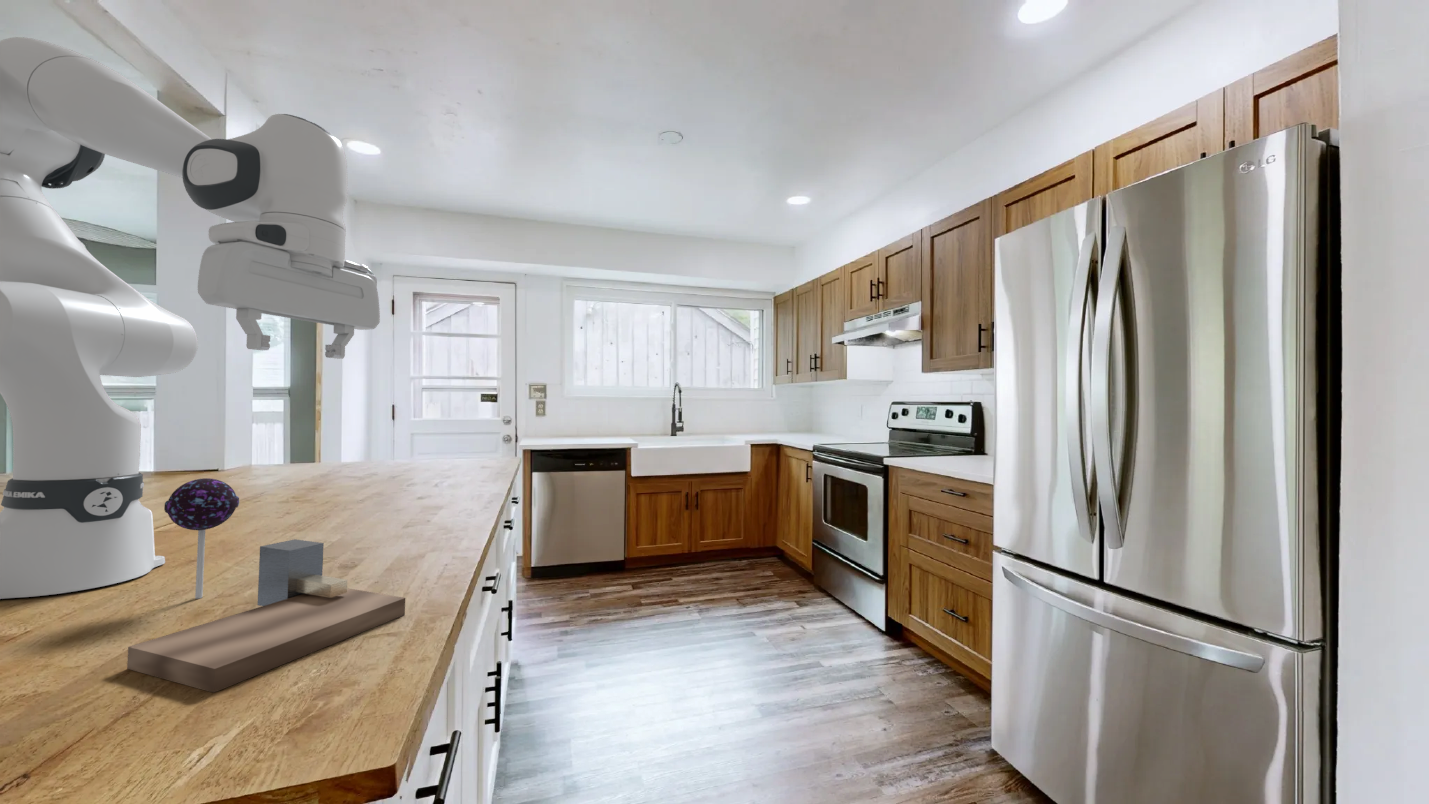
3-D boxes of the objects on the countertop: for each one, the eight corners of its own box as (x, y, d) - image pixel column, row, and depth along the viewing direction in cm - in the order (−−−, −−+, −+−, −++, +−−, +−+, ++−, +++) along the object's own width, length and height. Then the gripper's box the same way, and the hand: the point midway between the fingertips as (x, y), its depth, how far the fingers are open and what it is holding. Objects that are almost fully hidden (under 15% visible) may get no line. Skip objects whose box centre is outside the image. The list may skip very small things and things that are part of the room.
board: (127, 668, 49) (128, 645, 49) (330, 601, 67) (331, 584, 68) (213, 692, 46) (214, 667, 46) (404, 614, 64) (405, 596, 64)
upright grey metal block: (257, 605, 64) (260, 546, 64) (292, 594, 68) (295, 539, 68) (321, 617, 61) (323, 555, 61) (354, 605, 65) (356, 547, 65)
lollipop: (188, 610, 64) (194, 483, 64) (144, 604, 65) (150, 480, 65) (249, 591, 70) (254, 476, 71) (208, 586, 72) (213, 474, 72)
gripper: (360, 270, 80) (356, 362, 80) (191, 222, 61) (185, 344, 60) (392, 267, 78) (389, 362, 78) (229, 217, 59) (223, 343, 58)
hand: (298, 354), depth 69 cm, fingers open, 8 cm apart
